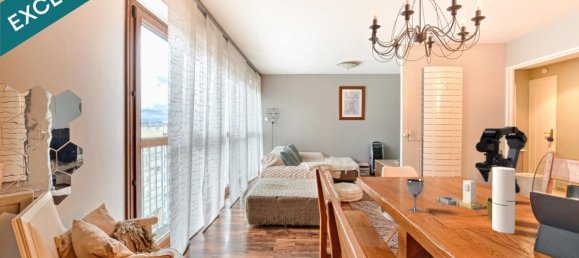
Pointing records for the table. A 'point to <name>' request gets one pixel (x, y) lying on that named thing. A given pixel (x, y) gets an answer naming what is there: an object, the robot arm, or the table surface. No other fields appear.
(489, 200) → the flower pot
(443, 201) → the port console
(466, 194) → the plug
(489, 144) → the robot arm
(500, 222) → the cylindrical container
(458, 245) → the table surface
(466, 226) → the table surface
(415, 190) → the wine glass
